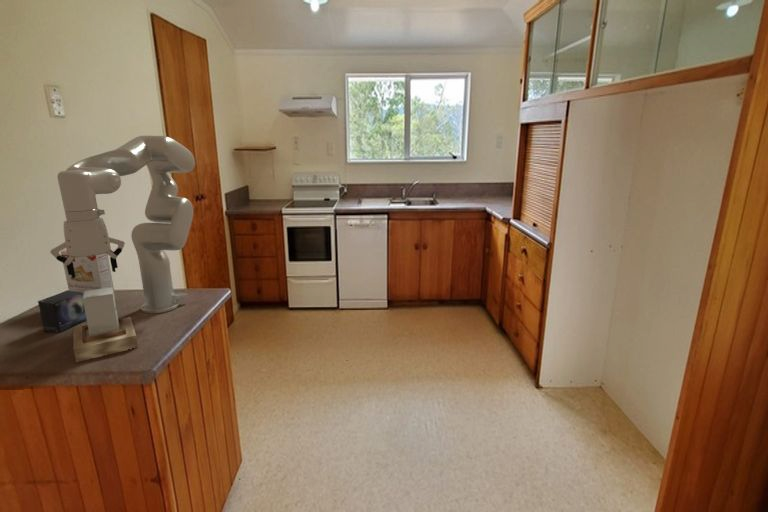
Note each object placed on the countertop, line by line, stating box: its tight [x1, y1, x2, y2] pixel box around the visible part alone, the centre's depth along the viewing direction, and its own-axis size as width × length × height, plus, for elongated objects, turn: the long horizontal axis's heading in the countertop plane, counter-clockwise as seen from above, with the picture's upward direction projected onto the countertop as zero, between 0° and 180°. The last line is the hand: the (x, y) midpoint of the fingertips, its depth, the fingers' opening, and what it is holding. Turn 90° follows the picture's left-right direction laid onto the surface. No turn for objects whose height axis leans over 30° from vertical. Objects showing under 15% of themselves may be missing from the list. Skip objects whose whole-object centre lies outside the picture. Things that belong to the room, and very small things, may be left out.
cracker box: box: [60, 248, 117, 302], centre depth 152 cm, size 14×6×21 cm, turn 82°
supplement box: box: [83, 286, 119, 337], centre depth 122 cm, size 7×7×13 cm
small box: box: [37, 289, 87, 334], centre depth 135 cm, size 11×6×10 cm, turn 168°
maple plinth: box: [72, 316, 139, 363], centre depth 124 cm, size 15×16×5 cm
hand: (94, 273), depth 119 cm, fingers open, 9 cm apart
